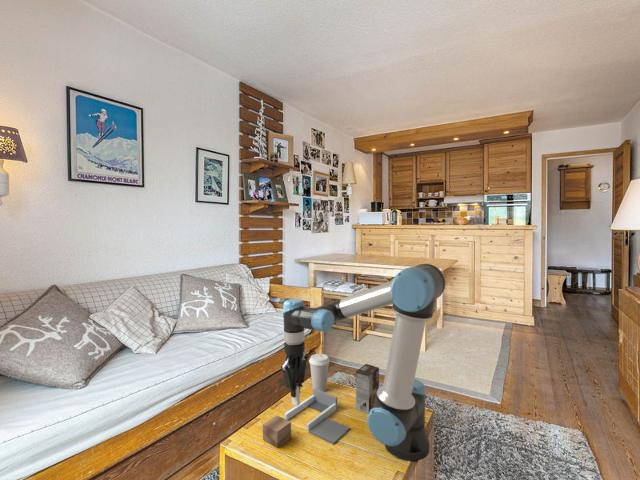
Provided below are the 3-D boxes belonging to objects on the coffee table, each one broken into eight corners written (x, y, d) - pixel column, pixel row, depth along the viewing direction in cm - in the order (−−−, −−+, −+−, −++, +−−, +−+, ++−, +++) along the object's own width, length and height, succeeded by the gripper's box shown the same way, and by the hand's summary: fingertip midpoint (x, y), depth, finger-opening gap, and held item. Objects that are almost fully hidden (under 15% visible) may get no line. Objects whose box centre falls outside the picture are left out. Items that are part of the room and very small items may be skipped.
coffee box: (365, 399, 149) (366, 363, 148) (379, 404, 145) (379, 367, 144) (355, 409, 141) (355, 370, 140) (369, 414, 137) (369, 374, 137)
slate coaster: (350, 429, 128) (350, 427, 127) (333, 444, 119) (333, 442, 119) (326, 418, 134) (326, 417, 134) (308, 432, 125) (308, 431, 125)
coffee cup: (329, 394, 153) (330, 361, 152) (308, 393, 153) (308, 361, 152) (329, 384, 163) (329, 353, 162) (309, 383, 163) (309, 352, 162)
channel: (337, 408, 141) (337, 397, 141) (308, 431, 126) (308, 418, 126) (314, 399, 148) (314, 388, 148) (284, 420, 133) (284, 407, 133)
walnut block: (290, 438, 122) (290, 421, 122) (277, 448, 117) (277, 431, 116) (276, 430, 126) (276, 415, 126) (262, 440, 121) (262, 424, 120)
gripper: (297, 335, 134) (299, 394, 135) (274, 344, 124) (276, 408, 125) (313, 338, 130) (314, 399, 131) (290, 348, 119) (291, 415, 120)
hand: (295, 404), depth 128 cm, fingers closed
